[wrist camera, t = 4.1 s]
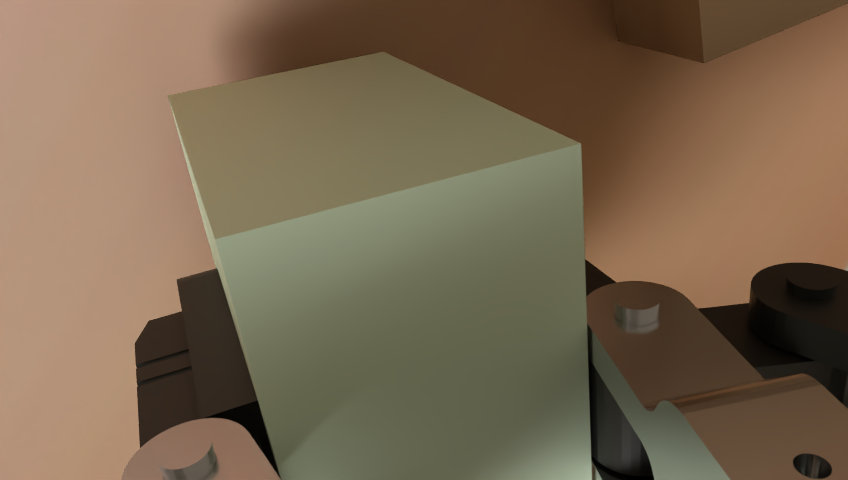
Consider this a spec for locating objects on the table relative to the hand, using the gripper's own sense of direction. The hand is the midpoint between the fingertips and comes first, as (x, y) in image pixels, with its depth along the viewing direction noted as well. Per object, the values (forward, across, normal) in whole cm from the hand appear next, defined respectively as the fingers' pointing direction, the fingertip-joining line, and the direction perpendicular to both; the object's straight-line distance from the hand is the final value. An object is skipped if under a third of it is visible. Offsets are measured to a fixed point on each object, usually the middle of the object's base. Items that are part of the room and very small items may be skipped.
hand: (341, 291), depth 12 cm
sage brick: (+2, 0, 0) cm, 2 cm away
